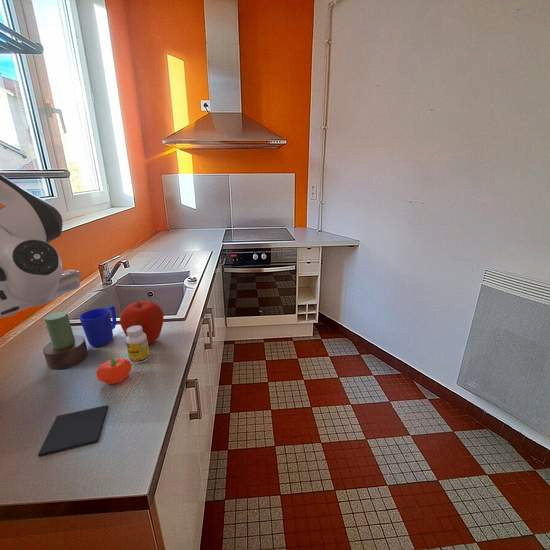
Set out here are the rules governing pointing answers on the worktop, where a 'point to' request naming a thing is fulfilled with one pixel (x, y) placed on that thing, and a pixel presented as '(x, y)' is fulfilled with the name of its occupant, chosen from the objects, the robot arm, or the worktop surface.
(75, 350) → the plinth
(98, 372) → the pumpkin
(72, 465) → the worktop surface
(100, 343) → the mug
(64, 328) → the stacking piece
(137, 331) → the supplement bottle
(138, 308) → the apple
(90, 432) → the mat
